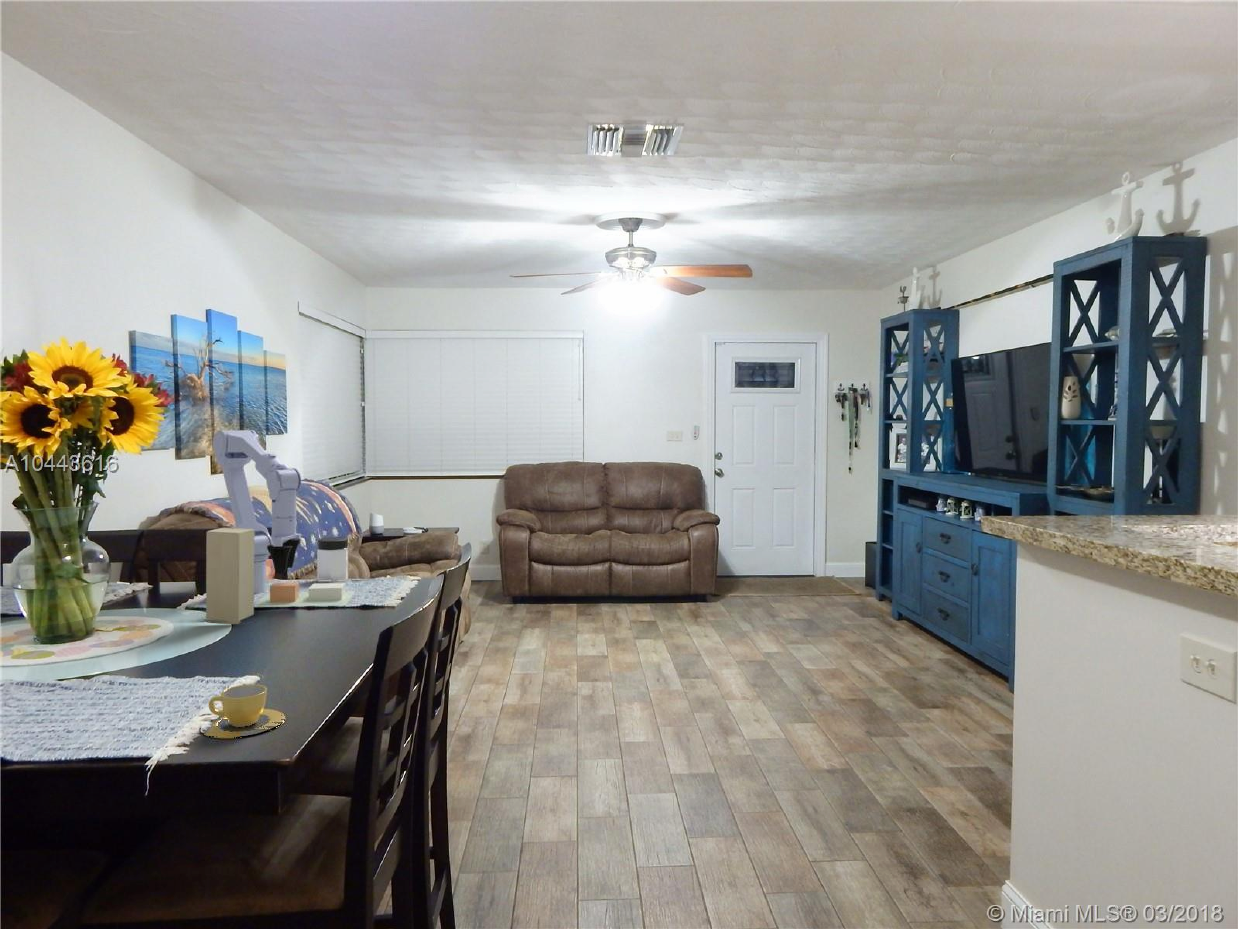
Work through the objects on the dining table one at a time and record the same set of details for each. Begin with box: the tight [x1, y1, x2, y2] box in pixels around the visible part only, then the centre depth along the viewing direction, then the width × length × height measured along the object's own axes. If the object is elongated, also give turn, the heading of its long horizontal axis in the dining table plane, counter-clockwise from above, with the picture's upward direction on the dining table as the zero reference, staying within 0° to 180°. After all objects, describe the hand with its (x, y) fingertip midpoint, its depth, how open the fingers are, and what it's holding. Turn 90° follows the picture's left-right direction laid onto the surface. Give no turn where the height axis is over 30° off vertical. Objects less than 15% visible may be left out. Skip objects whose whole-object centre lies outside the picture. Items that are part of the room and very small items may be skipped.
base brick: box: [308, 582, 346, 600], centre depth 206 cm, size 8×6×3 cm
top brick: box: [269, 581, 300, 602], centre depth 202 cm, size 6×4×4 cm, turn 100°
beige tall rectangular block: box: [205, 527, 255, 625], centre depth 184 cm, size 8×7×21 cm
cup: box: [203, 683, 286, 739], centre depth 123 cm, size 12×12×5 cm
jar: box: [316, 536, 349, 583], centre depth 231 cm, size 9×8×12 cm
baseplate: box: [254, 590, 356, 608], centre depth 204 cm, size 22×16×1 cm
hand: (284, 570), depth 202 cm, fingers open, 7 cm apart
